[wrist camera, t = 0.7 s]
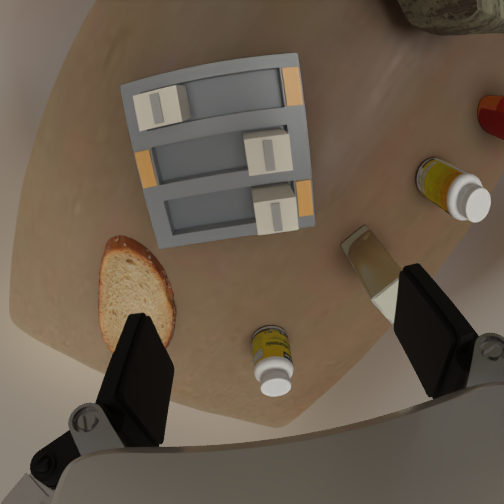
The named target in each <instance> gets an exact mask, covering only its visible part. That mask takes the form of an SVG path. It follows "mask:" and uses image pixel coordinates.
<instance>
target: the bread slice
mask: <svg viewBox="0 0 504 504" xmlns="http://www.w3.org/2000/svg"><path fill="white" fill-rule="evenodd" d="M173 297H174V294H173V291H172V287H171V284H170V281H169V279H168V277H167V275H166V272H165V270H164V268H163V267H162V265H161V264H160V263H159V261H158V260H157V259H156V257H155V256H154V255H153V254H152V253H151V252H150V251H149V250H148V249H147V248H146V247H144V246H143V245H142V244H140V243H139V242H137V241H135V240H134V239H131V238H128V237H126V236H115V237H112V238H110V239H109V240H108V242H107V244H106V246H105V251H104V254H103V258H102V261H101V269H100V279H99V304H98V308H99V324H100V328H101V331H102V337H103V339H104V342H105V345H106V346H107V348H108V349H109V350H110V351H111V352H113V353H114V351H115V348H116V346H117V343H118V340H119V338H120V335H121V333H122V330H123V328H124V325H125V323H126V320H127V318H128V316H129V315H130V314H135V313H142V312H143V313H145V314H146V316H150V317H151V319H152V321H153V323H154V325H155V328H156V330H157V332H158V334H159V336H160V338H161V340H162V342H163V344H164V347H165V349H167V348H168V346H169V343H170V341H171V339H172V337H173V333H174V328H175V321H176V309H175V306H174V303H173Z"/></svg>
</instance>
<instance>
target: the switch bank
mask: <svg viewBox="0 0 504 504" xmlns="http://www.w3.org/2000/svg"><path fill="white" fill-rule="evenodd" d="M174 85H180V86H186V91H187V96H188V102H189V108H190V113H191V117H190V118H188V119H186V120H184V121H182V122H178V123H173V124H169V125H164V126H160V127H156V128H151V129H147V130H143V131H139V126H138V121H137V116H136V111H135V106H134V101H133V96H135V95H138V94H142V93H145V92H149V91H153V90H157V89H161V88H165V87H169V86H174ZM120 90H121V95H122V100H123V105H124V111H125V116H126V120H127V125H128V130H129V135H130V139H131V144H132V148H133V152H134V157H135V161H136V165H137V169H138V173H139V177H140V181H141V185H142V189H143V193H144V197H145V200H146V204H147V208H148V212H149V215H150V219H151V222H152V226H153V229H154V233H155V236H156V240H157V243H158V246H159V249H163V248H170V247H176V246H183V245H189V244H196V243H202V242H209V241H215V240H222V239H228V238H235V237H242V236H249V235H255V234H258V231H257V224H256V217H255V211H254V204H253V197H252V190H251V186H256V185H263V184H270V183H278V182H285V181H287V182H288V183H289V185H290V187H291V189H292V191H293V193H294V195H295V196H296V204H297V215H298V227H299V228H304V227H312V226H315V212H314V198H313V185H312V173H311V161H310V151H309V140H308V131H307V122H306V113H305V104H304V96H303V88H302V81H301V73H300V66H299V59H298V53H288V54H276V55H266V56H257V57H249V58H241V59H234V60H227V61H221V62H215V63H210V64H204V65H199V66H194V67H189V68H185V69H180V70H176V71H171V72H167V73H163V74H159V75H155V76H151V77H148V78H144V79H140V80H137V81H133V82H130V83H127V84H123V85H120ZM280 127H281V128H282V129H283V130H285V131H286V132H287V133H289V138H290V147H291V155H292V164H293V170H292V171H284V172H276V173H269V174H261V175H254V176H249V171H248V164H247V158H246V151H245V145H244V138H243V132H249V131H257V130H264V129H272V128H280Z"/></svg>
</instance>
